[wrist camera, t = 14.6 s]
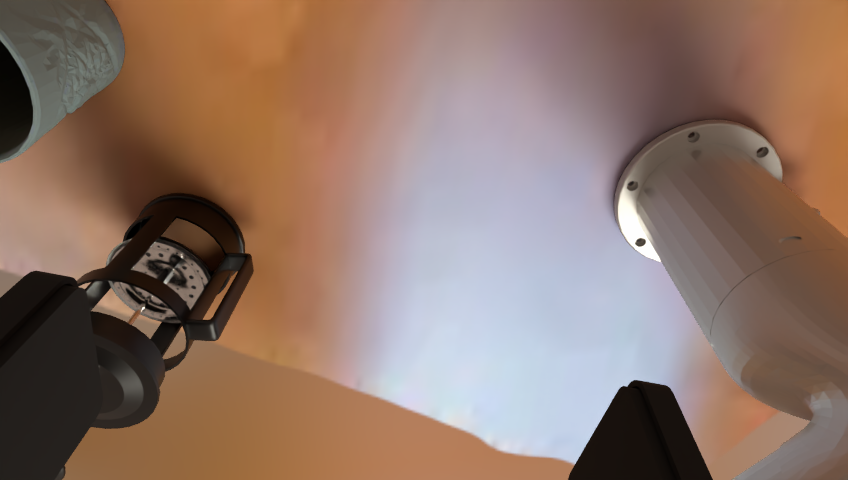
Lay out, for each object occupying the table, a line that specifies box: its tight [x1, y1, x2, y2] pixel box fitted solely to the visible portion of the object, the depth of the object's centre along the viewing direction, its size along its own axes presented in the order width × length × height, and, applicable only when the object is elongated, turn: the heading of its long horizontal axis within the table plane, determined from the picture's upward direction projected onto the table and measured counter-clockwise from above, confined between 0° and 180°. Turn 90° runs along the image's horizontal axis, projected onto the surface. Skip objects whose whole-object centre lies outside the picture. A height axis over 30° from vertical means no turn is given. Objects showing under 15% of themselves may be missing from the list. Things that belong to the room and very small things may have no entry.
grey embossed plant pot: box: [0, 0, 125, 163], centre depth 34 cm, size 10×10×12 cm
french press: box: [55, 193, 254, 480], centre depth 38 cm, size 12×9×23 cm
